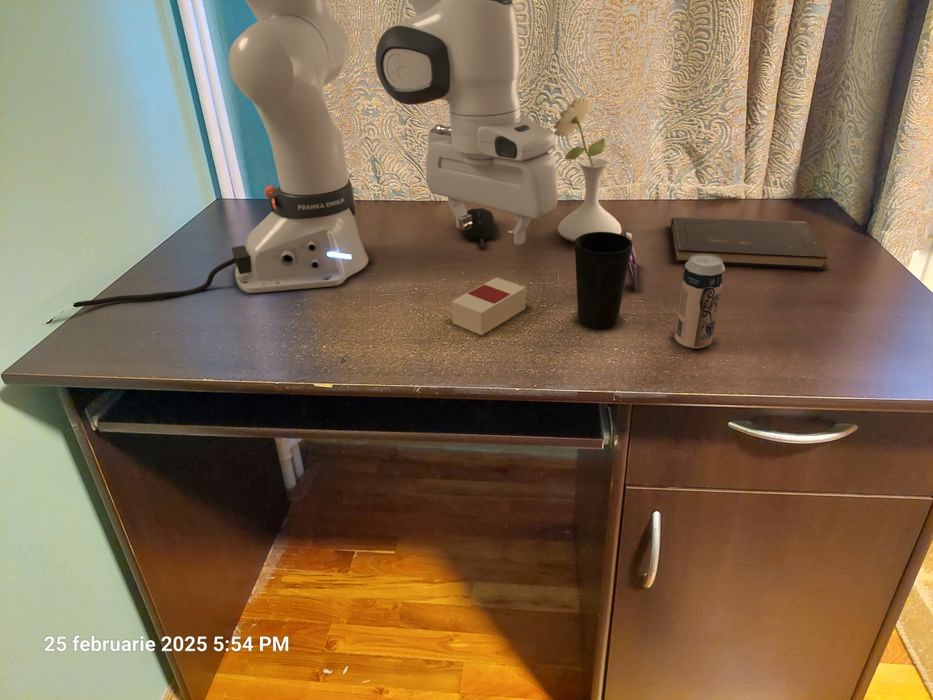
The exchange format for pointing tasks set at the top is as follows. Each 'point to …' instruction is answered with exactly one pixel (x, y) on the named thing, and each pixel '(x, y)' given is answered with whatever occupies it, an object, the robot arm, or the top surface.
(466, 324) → the packet
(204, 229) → the top surface
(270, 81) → the robot arm
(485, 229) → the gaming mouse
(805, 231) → the hardcover book
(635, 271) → the purple toy figure frame
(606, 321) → the cup
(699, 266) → the beer can
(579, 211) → the flower in vase
